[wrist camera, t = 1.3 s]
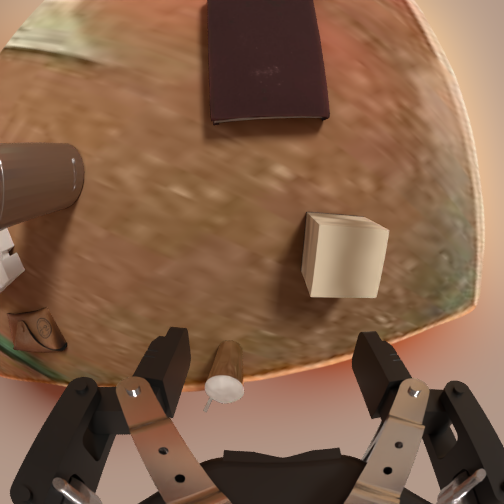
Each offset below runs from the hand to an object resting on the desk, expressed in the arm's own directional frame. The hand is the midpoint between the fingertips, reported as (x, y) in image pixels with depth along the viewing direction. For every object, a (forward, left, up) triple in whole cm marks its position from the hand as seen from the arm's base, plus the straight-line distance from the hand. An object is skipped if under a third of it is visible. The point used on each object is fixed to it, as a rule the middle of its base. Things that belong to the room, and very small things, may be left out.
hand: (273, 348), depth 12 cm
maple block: (+8, 0, -20) cm, 22 cm away
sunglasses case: (-43, -20, -21) cm, 52 cm away
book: (-1, +23, -21) cm, 31 cm away
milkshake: (-4, -16, -20) cm, 26 cm away
